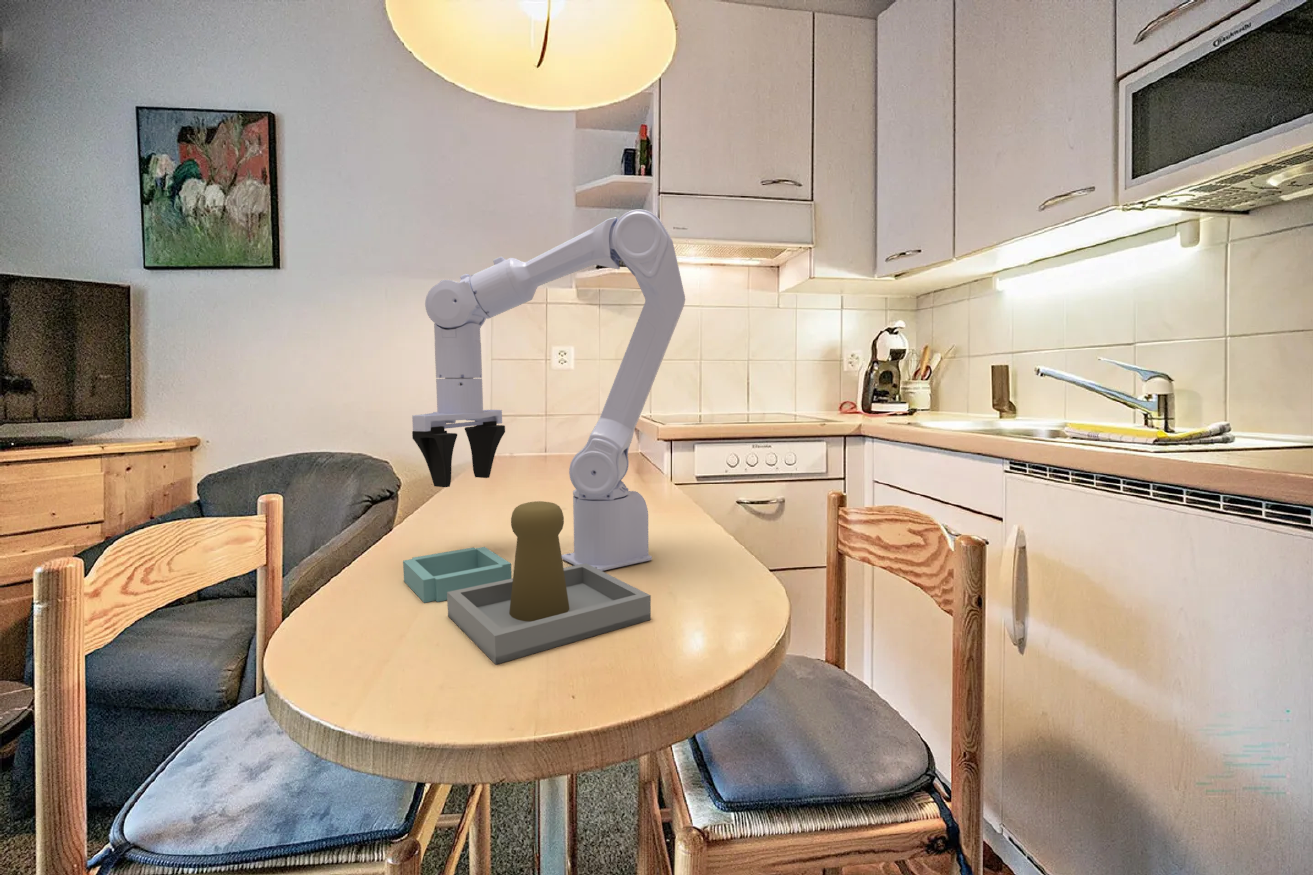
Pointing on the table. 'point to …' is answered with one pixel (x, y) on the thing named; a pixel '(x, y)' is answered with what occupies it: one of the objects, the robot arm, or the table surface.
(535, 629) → the charcoal tray
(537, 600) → the cork
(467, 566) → the teal collar
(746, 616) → the table surface
